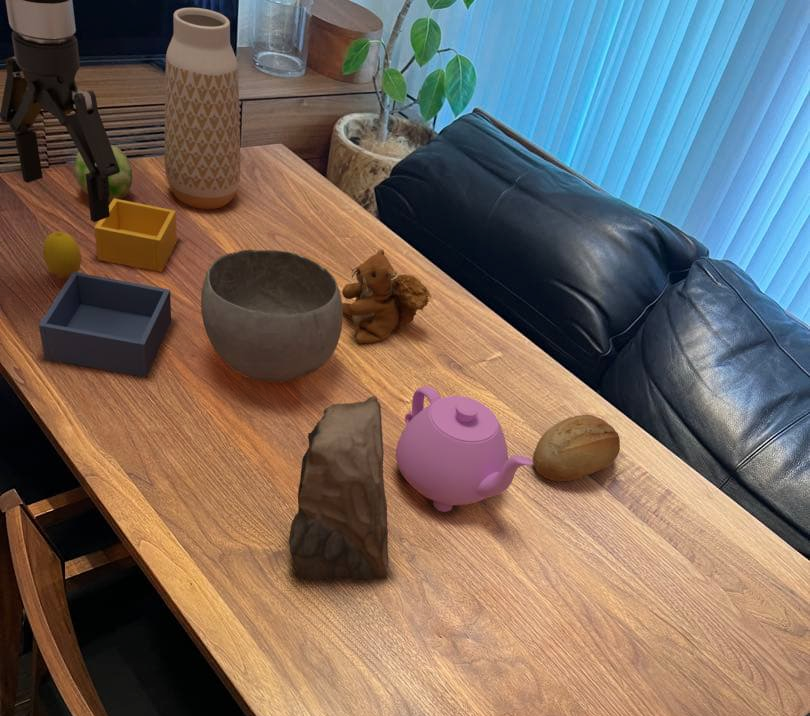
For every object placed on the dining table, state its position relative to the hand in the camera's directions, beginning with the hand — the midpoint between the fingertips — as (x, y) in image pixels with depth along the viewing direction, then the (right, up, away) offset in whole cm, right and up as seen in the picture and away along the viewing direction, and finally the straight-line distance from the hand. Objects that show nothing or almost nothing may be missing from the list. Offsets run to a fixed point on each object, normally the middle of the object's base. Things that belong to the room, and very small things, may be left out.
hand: (66, 198), depth 115 cm
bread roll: (+74, -37, +8) cm, 83 cm away
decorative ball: (-7, +14, +34) cm, 37 cm away
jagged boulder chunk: (+40, -51, -12) cm, 66 cm away
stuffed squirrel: (+44, -12, +23) cm, 51 cm away
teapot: (+55, -41, 0) cm, 68 cm away
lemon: (-7, -6, +15) cm, 18 cm away
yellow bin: (+2, +1, +24) cm, 24 cm away
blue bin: (+4, -18, +7) cm, 20 cm away
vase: (+9, +17, +40) cm, 45 cm away
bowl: (+27, -22, +10) cm, 36 cm away
